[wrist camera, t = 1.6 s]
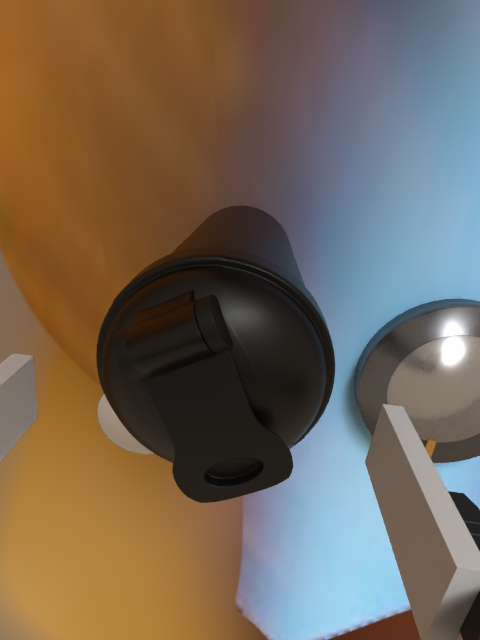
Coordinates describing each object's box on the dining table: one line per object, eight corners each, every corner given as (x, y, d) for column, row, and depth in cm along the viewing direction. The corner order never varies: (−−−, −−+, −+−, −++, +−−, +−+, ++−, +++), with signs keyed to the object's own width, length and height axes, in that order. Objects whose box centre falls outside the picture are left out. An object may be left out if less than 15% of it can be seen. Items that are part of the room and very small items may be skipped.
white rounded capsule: (128, 331, 40) (97, 374, 32) (203, 341, 40) (188, 387, 32) (127, 394, 42) (97, 448, 35) (196, 404, 42) (181, 459, 35)
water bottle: (212, 327, 39) (145, 551, 18) (161, 223, 35) (3, 347, 14) (317, 288, 37) (385, 487, 16) (274, 173, 33) (287, 231, 12)
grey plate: (378, 287, 36) (384, 295, 34) (563, 312, 36) (580, 322, 34) (338, 436, 43) (341, 451, 41) (496, 458, 43) (507, 474, 41)
